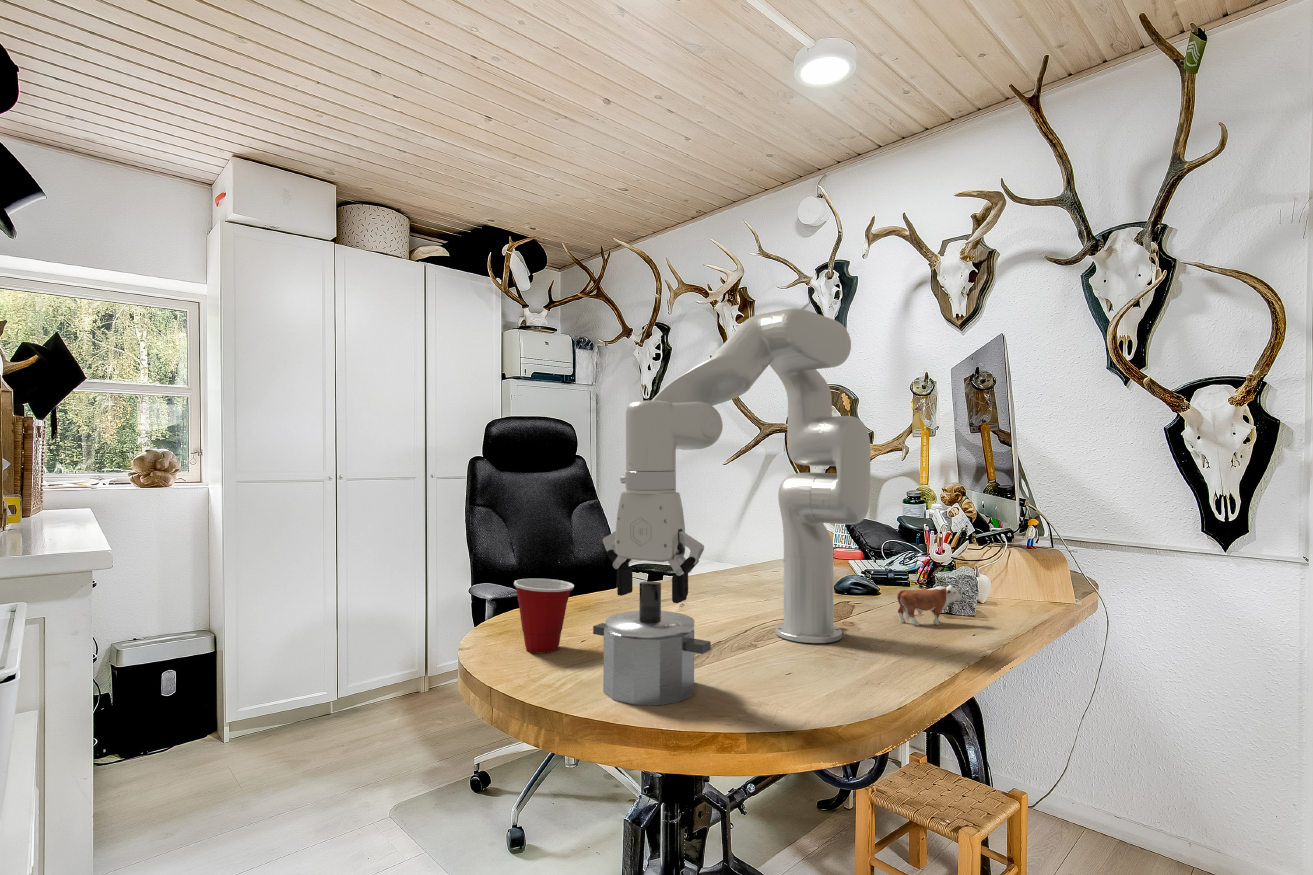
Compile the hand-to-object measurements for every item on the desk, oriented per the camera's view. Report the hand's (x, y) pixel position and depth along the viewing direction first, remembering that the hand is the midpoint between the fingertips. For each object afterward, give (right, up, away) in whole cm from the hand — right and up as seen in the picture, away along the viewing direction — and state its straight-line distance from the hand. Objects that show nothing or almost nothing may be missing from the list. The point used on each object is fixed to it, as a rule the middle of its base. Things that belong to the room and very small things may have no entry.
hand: (651, 597), depth 98 cm
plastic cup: (-20, -14, +19) cm, 31 cm away
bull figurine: (+58, -15, +39) cm, 72 cm away
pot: (0, -13, -1) cm, 13 cm away
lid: (0, -5, 0) cm, 5 cm away
